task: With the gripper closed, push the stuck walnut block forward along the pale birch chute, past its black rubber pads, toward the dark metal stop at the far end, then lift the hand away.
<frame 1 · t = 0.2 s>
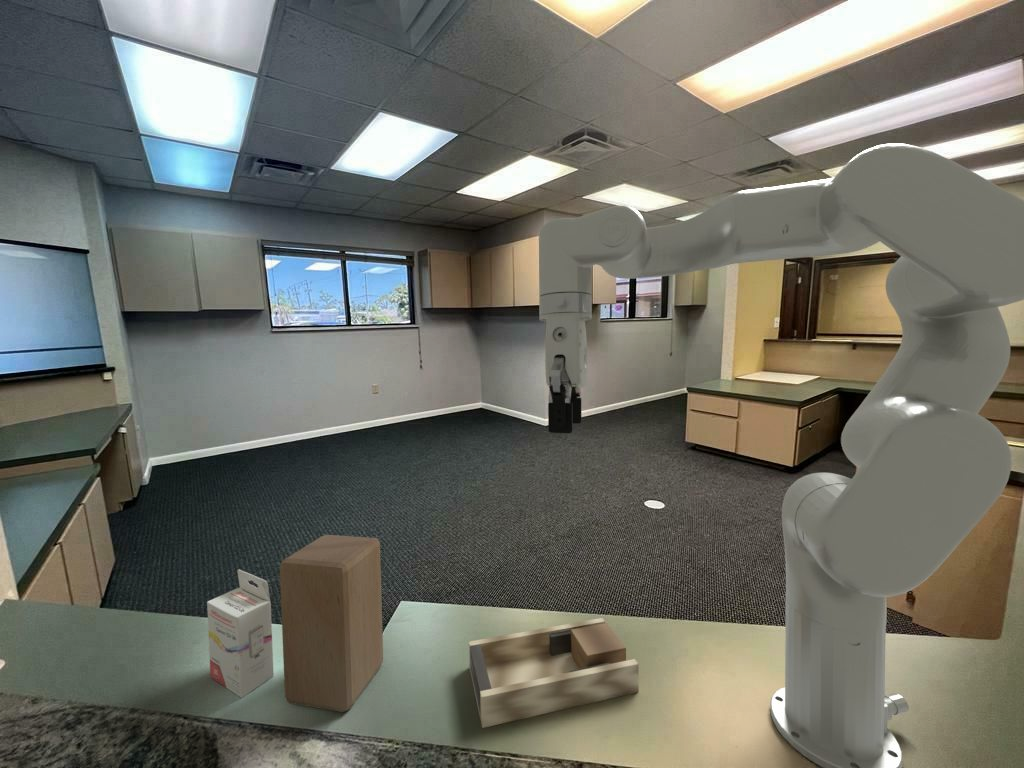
hand: (566, 427, 61), 36 cm above the countertop, tool pointing down, fingers open, 9 cm apart
chute: (550, 679, 60), on the countertop
ink cartridge box: (241, 679, 62), on the countertop
block: (337, 684, 60), on the countertop
jammed block: (597, 651, 62), point 3 cm above the countertop, slide at 0.0 cm
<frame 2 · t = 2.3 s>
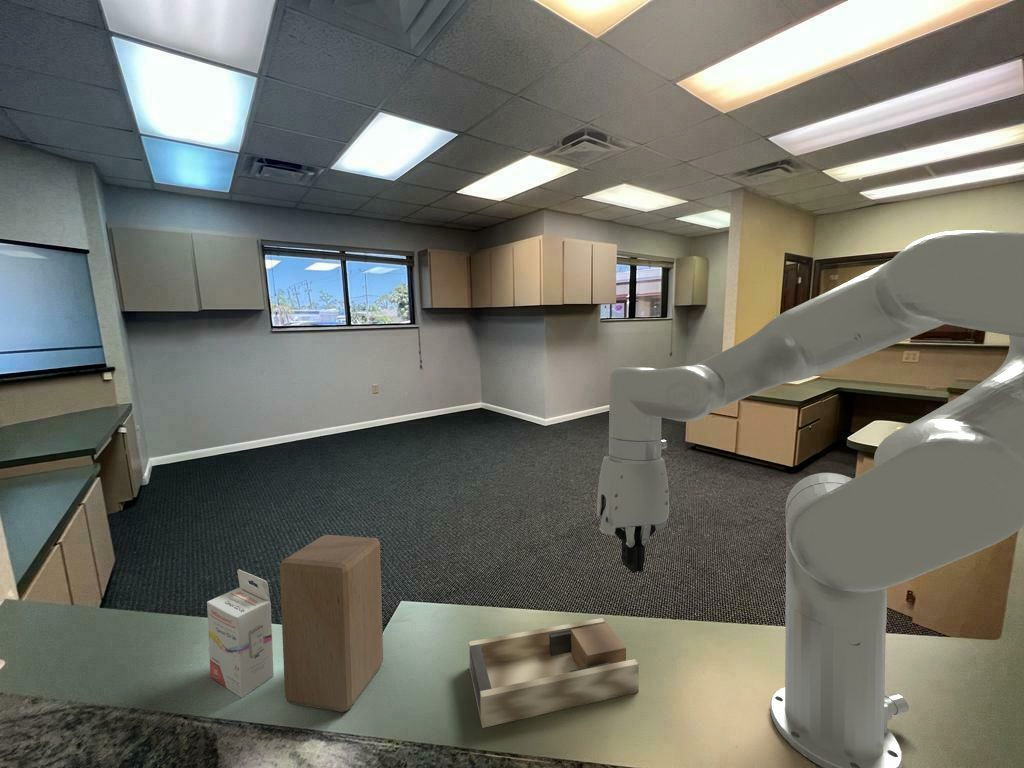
hand: (632, 567, 63), 14 cm above the countertop, tool pointing down, fingers closed
nothing on the countertop moved.
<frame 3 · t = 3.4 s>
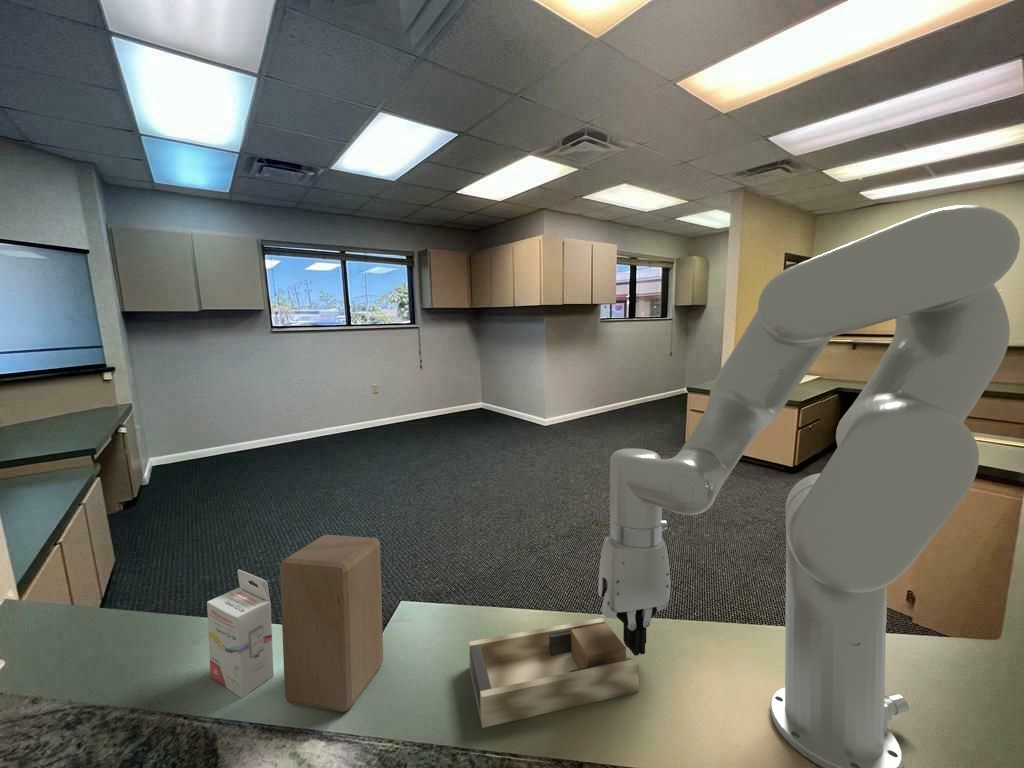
hand: (634, 648, 64), 2 cm above the countertop, tool pointing down, fingers closed
nothing on the countertop moved.
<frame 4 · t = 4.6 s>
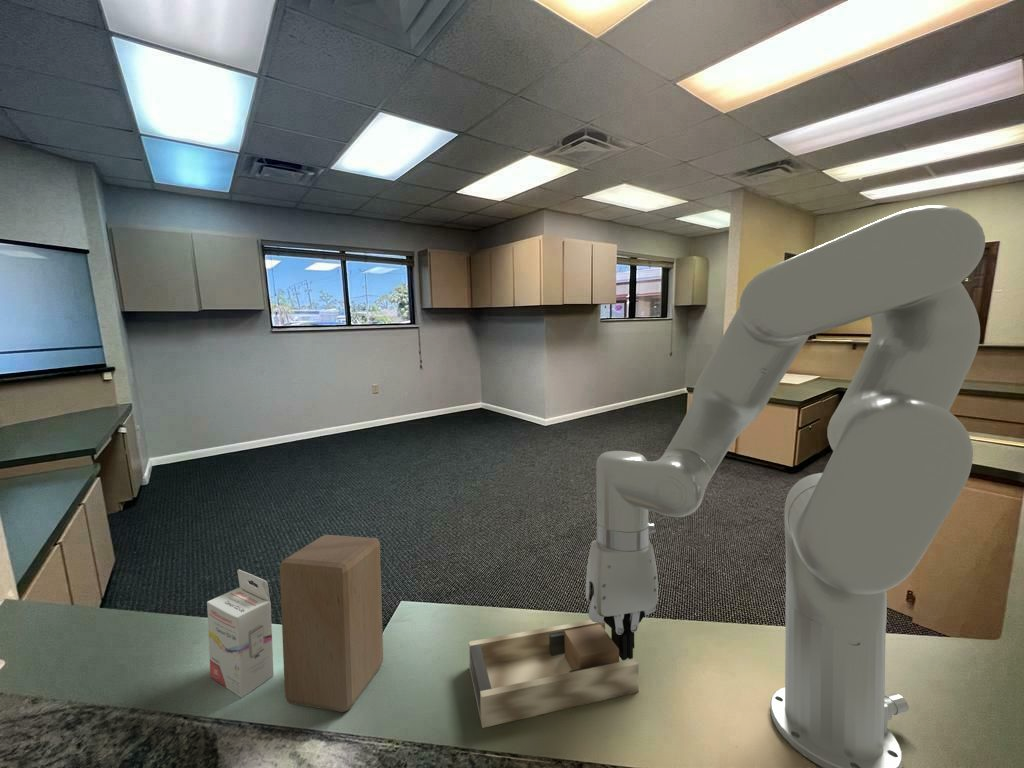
hand: (622, 653, 63), 2 cm above the countertop, tool pointing down, fingers closed
jammed block: (590, 652, 62), point 3 cm above the countertop, slide at 1.1 cm, touching gripper
everything else where it was.
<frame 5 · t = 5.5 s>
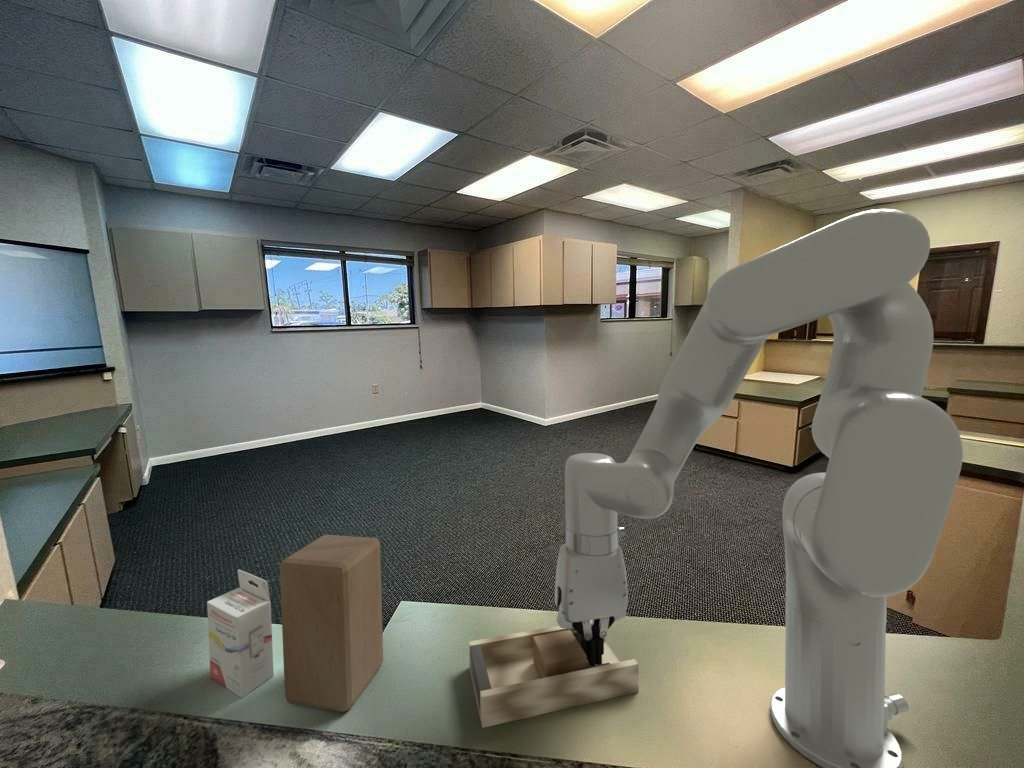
hand: (592, 659, 62), 2 cm above the countertop, tool pointing down, fingers closed
jammed block: (559, 659, 60), point 3 cm above the countertop, slide at 6.1 cm, touching gripper
everything else where it was.
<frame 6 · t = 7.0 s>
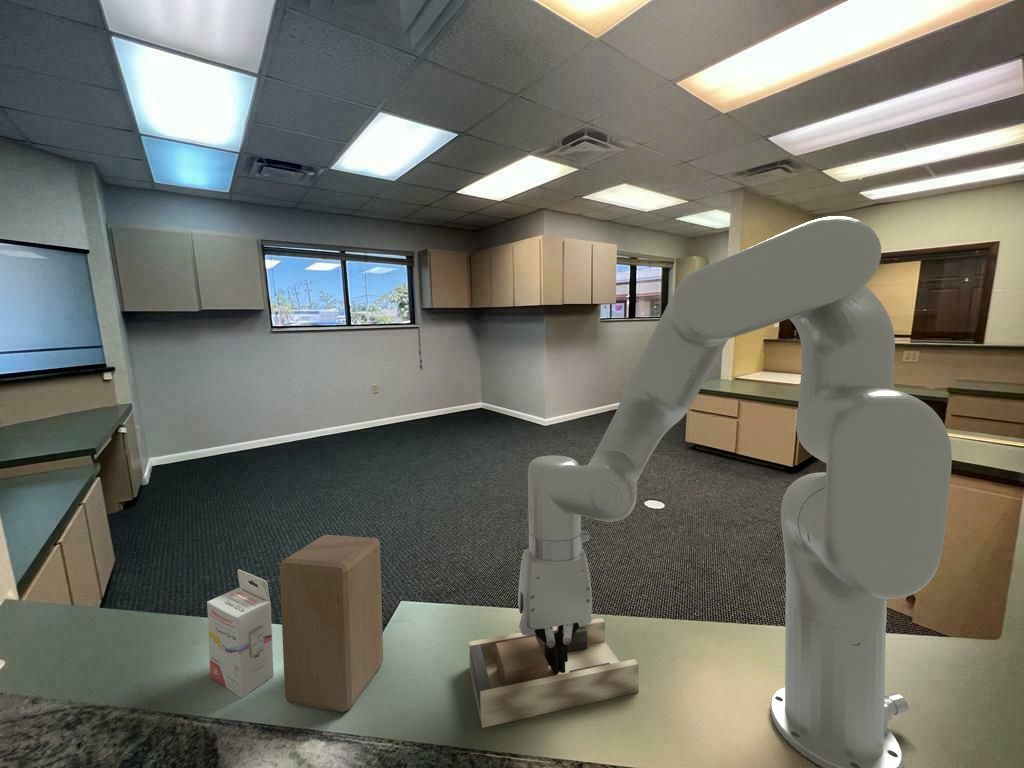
hand: (556, 666, 60), 2 cm above the countertop, tool pointing down, fingers closed
jammed block: (521, 666, 59), point 3 cm above the countertop, slide at 11.8 cm, touching gripper
everything else where it was.
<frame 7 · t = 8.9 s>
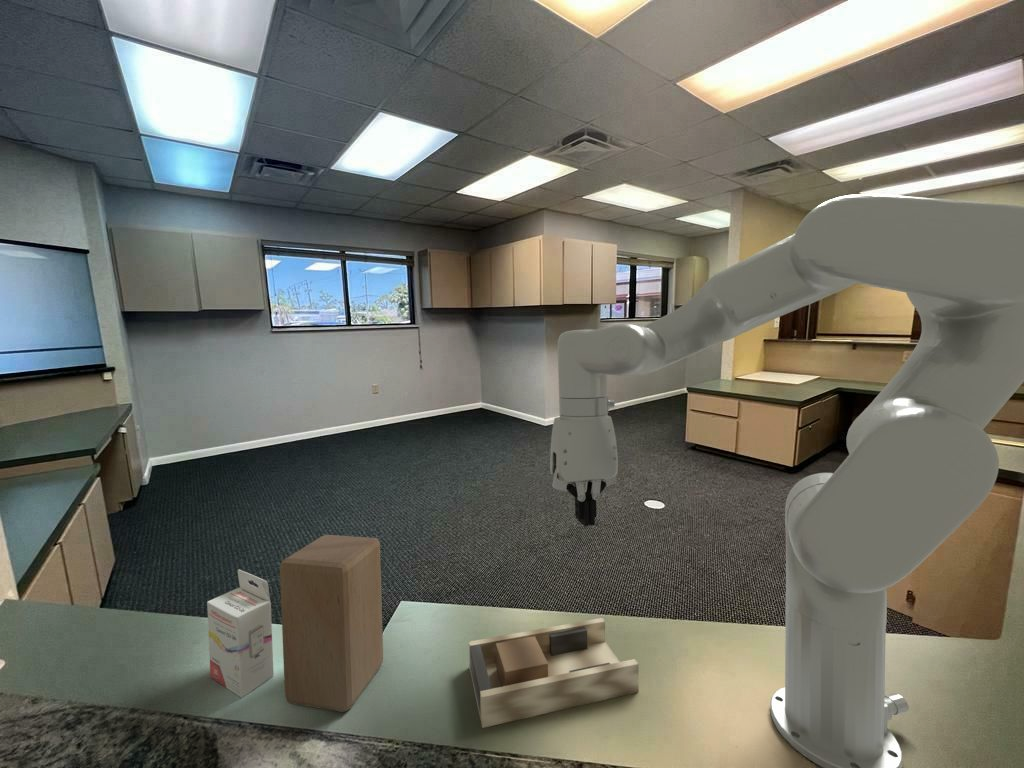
hand: (586, 522, 66), 20 cm above the countertop, tool pointing down, fingers closed
jammed block: (521, 666, 59), point 3 cm above the countertop, slide at 11.8 cm
everything else where it was.
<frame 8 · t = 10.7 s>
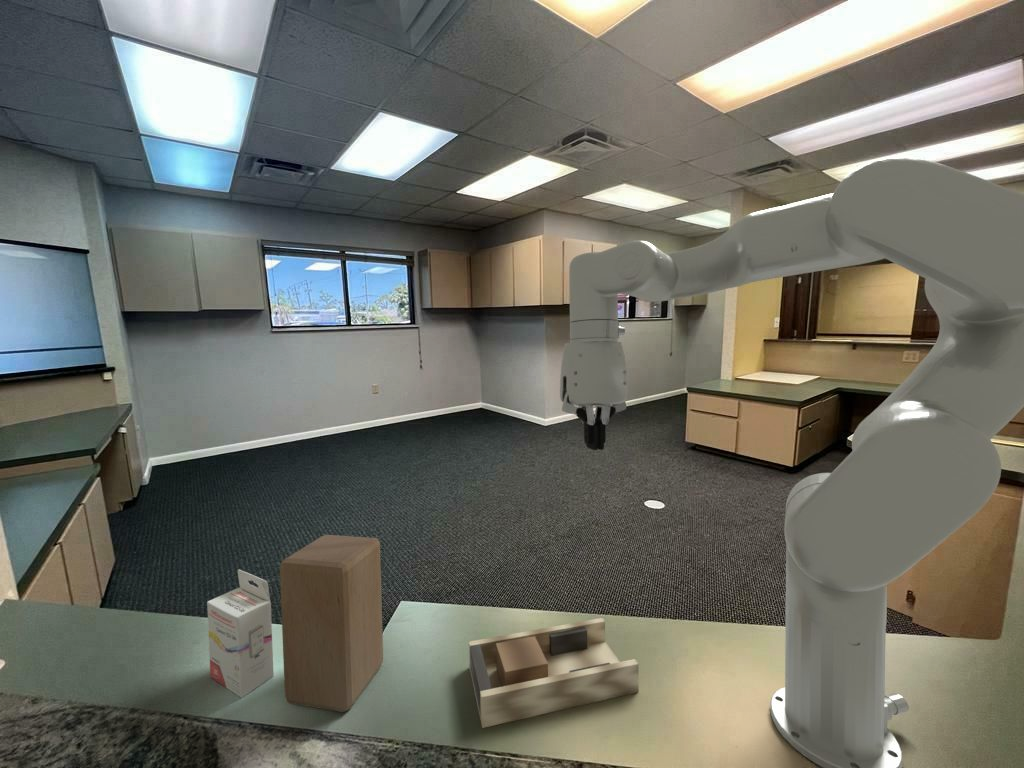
hand: (594, 448, 67), 32 cm above the countertop, tool pointing down, fingers closed
nothing on the countertop moved.
at the end: jammed block slide at 11.8 cm; block moved 0.2 cm from its start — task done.
